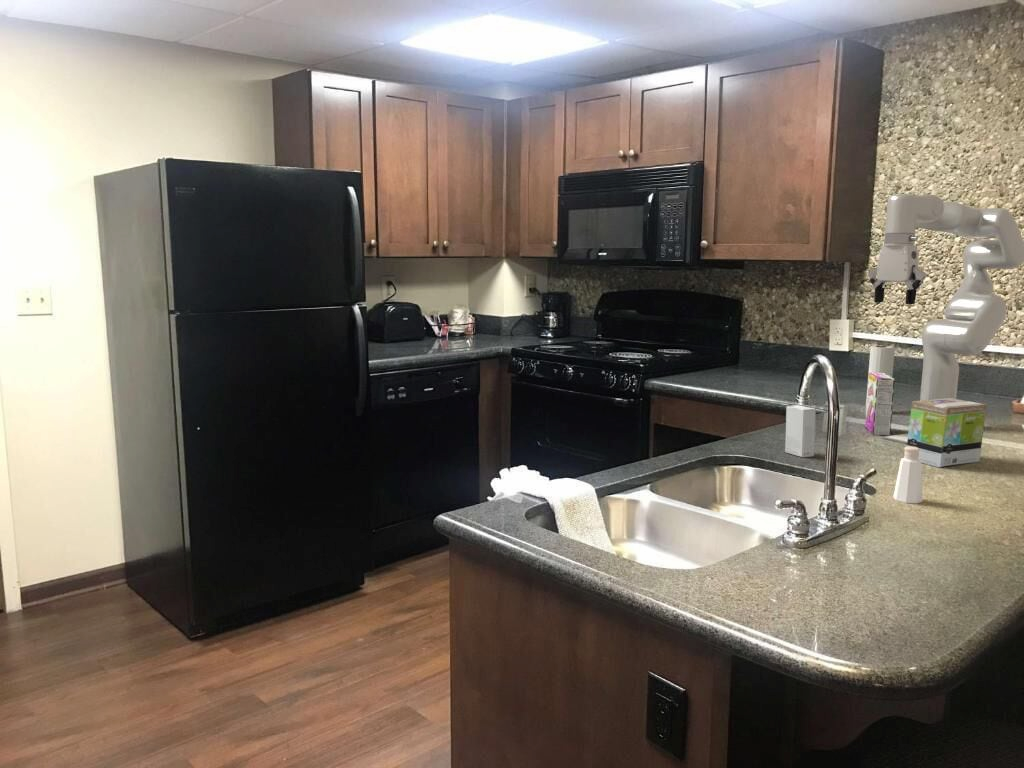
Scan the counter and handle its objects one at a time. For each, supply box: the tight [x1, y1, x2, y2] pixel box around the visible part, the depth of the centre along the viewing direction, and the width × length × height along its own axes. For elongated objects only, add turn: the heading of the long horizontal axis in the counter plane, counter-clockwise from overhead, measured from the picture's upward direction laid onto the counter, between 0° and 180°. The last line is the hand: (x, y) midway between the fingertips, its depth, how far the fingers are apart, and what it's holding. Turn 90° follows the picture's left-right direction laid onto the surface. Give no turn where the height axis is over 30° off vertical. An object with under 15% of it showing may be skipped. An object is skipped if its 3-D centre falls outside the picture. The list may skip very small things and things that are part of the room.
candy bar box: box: [864, 372, 895, 437], centre depth 233 cm, size 11×5×16 cm, turn 168°
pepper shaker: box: [893, 445, 923, 505], centre depth 167 cm, size 5×5×11 cm
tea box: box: [906, 398, 987, 468], centre depth 200 cm, size 15×10×15 cm
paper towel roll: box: [865, 345, 896, 404], centre depth 263 cm, size 7×6×21 cm
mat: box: [881, 432, 908, 444], centre depth 221 cm, size 13×16×1 cm
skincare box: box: [784, 404, 817, 458], centre depth 205 cm, size 6×4×12 cm
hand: (894, 303), depth 227 cm, fingers open, 9 cm apart
